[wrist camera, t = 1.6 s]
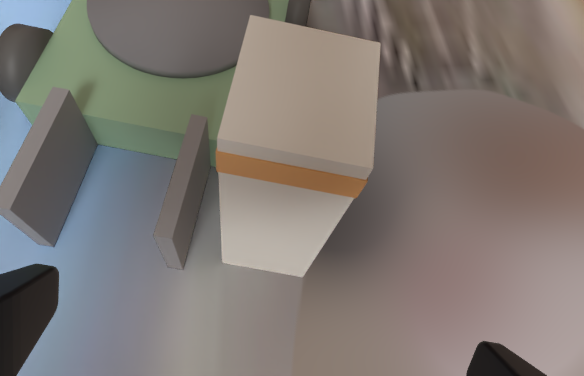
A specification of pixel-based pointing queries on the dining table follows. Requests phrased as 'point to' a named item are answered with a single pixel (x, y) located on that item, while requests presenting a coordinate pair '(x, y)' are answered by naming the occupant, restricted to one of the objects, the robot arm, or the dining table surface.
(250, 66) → the beige box
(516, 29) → the dining table surface
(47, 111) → the green and grey base
